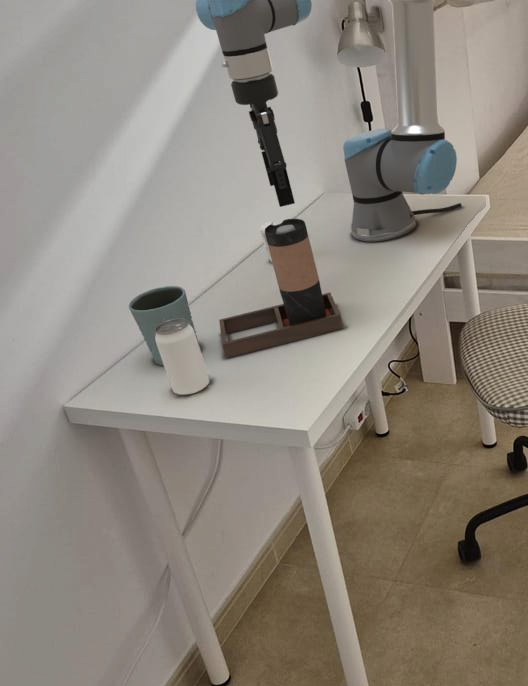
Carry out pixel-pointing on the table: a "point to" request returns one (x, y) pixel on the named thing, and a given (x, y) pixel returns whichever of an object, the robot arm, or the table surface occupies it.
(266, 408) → the table surface
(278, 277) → the travel mug
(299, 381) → the table surface
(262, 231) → the milkshake
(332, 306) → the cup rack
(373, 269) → the table surface
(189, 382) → the can
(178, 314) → the green tapered cup
